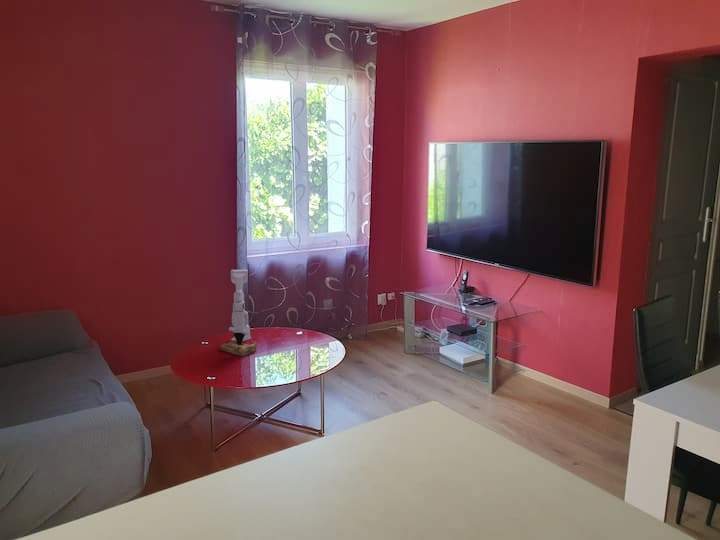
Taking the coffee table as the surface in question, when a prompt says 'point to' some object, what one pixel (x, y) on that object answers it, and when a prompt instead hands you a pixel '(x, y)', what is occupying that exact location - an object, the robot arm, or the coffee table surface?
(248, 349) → the board
